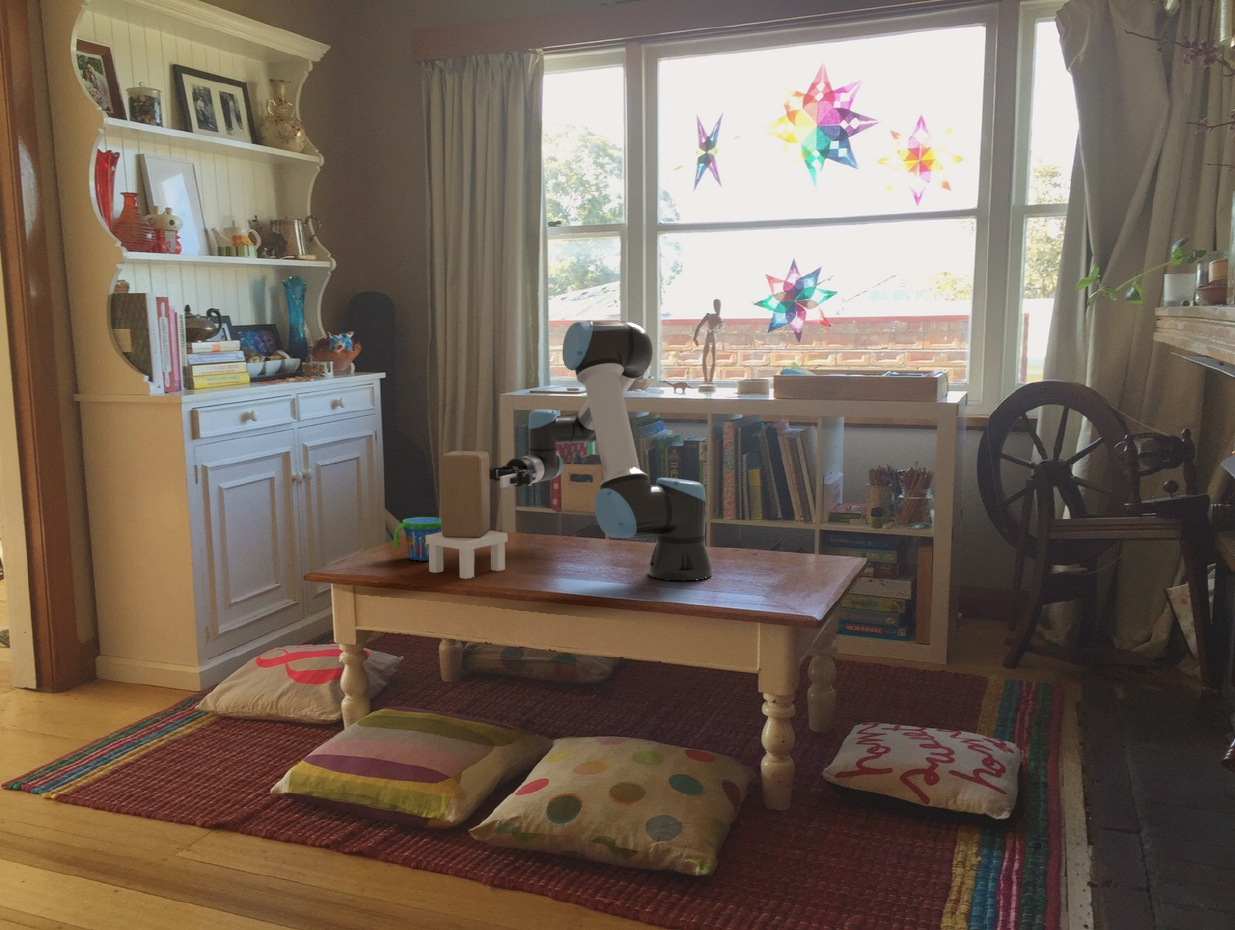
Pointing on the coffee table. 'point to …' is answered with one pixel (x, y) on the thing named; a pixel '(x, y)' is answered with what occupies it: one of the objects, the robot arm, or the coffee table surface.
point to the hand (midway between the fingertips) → (478, 480)
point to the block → (465, 494)
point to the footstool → (467, 551)
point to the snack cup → (418, 535)
